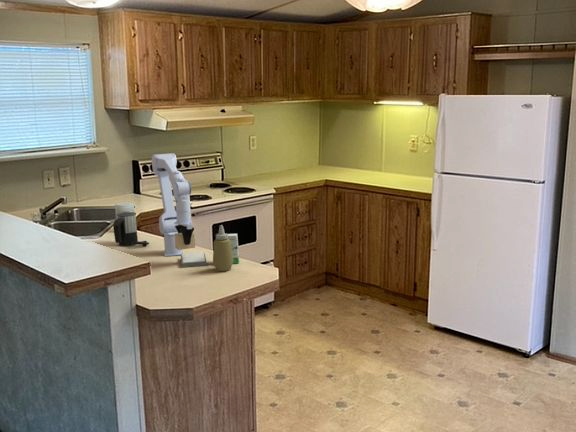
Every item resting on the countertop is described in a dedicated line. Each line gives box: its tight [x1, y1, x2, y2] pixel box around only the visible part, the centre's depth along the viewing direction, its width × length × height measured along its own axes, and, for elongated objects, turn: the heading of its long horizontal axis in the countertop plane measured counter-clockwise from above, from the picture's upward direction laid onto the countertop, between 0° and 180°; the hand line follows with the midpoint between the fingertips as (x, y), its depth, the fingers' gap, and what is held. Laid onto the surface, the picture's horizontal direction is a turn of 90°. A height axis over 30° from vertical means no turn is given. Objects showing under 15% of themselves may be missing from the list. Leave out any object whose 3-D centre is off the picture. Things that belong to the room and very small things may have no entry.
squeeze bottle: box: [212, 224, 233, 272], centre depth 248 cm, size 8×8×18 cm
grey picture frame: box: [180, 252, 208, 269], centre depth 261 cm, size 14×10×2 cm
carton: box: [174, 232, 196, 251], centre depth 258 cm, size 7×4×6 cm, turn 117°
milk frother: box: [112, 211, 150, 247], centre depth 293 cm, size 14×16×15 cm
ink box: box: [227, 233, 240, 265], centre depth 258 cm, size 9×5×12 cm, turn 92°
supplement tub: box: [114, 201, 135, 220], centre depth 324 cm, size 10×10×15 cm
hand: (185, 243), depth 259 cm, fingers closed on carton, 4 cm apart
